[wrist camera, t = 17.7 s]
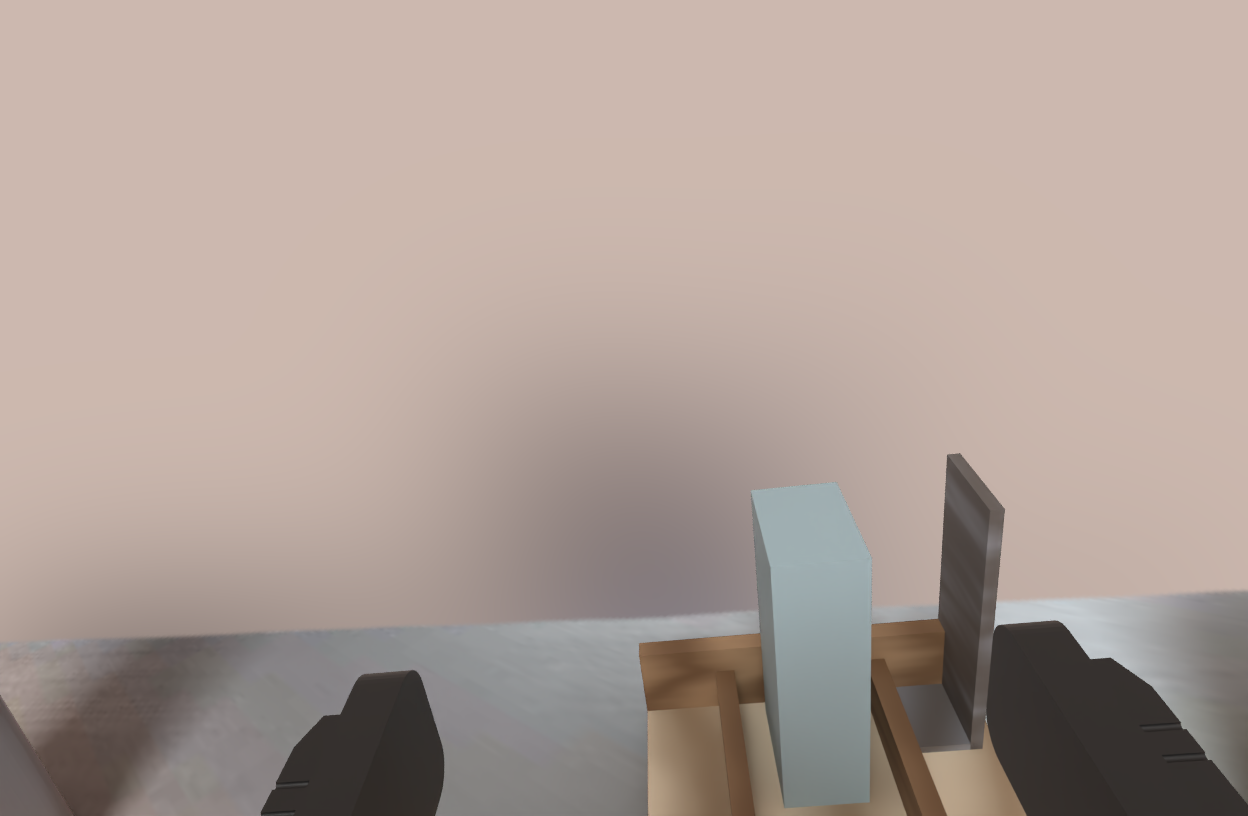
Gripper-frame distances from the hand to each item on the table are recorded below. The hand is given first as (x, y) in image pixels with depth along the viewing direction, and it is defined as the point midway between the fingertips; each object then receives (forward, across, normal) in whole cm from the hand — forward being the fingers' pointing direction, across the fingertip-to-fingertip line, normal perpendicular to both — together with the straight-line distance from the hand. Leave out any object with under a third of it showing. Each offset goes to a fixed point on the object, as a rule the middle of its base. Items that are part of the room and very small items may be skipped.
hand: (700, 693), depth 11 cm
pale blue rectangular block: (+20, -5, +25) cm, 32 cm away
